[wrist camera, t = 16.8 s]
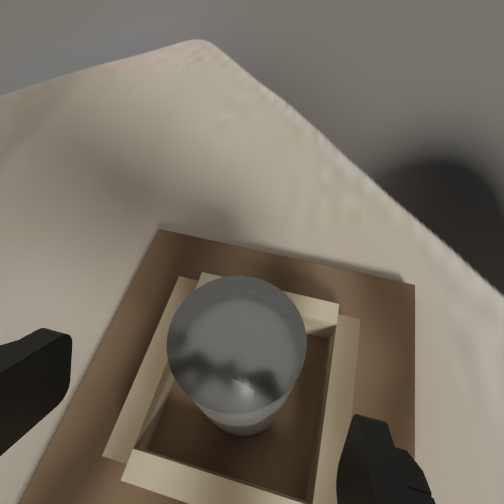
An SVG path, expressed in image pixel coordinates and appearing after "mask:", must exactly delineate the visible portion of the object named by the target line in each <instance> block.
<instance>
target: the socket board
mask: <svg viewBox="0 0 504 504" xmlns="http://www.w3.org/2000/svg"><path fill="white" fill-rule="evenodd" d="M227 276H250V277H255V278H258V279H262V280H264V281H267V282H269V283H271V284H273V285H274V286H276V287H278V288H279V289H280V290H281V291H283V292H284V293H285V294H286V295H287V296H288V297H289V298H290V299H291V300H292V302H293V303H294V304H295V306H296V307H297V309H298V311H299V312H300V315H301V317H302V319H303V322H304V326H305V330H306V337H307V348H306V356H305V360H304V364H303V367H302V369H301V371H300V374H299V376H298V378H297V380H296V382H295V384H294V386H293V388H292V390H291V392H290V394H289V396H288V398H287V400H286V402H285V404H284V406H283V408H282V410H281V412H280V414H279V415H278V417H277V419H276V420H275V421H274V423H273V424H272V425H271V426H270V427H269V428H267V429H266V430H265V431H263V432H261V433H259V434H257V435H254V436H250V437H236V436H232V435H229V434H227V433H225V432H223V431H221V430H220V429H219V428H218V427H216V426H215V425H214V423H213V422H212V421H211V420H210V419H209V418H208V417H207V416H206V415H205V414H204V413H203V412H202V410H201V409H200V408H199V407H198V406H197V405H196V404H195V403H194V402H193V401H192V400H191V399H190V397H189V396H188V395H187V394H186V393H185V392H184V391H183V390H182V389H181V387H180V386H179V385H178V383H177V382H176V380H175V378H174V376H173V374H172V372H171V369H170V366H169V363H168V357H167V346H166V345H167V335H168V330H169V326H170V324H171V321H172V318H173V316H174V314H175V312H176V311H177V309H178V308H179V306H180V305H181V303H182V302H183V301H184V300H185V299H186V298H187V297H188V296H189V295H190V294H191V293H192V292H193V291H195V290H196V289H197V288H199V287H200V286H202V285H204V284H206V283H208V282H210V281H212V280H215V279H218V278H222V277H227ZM354 414H359V415H363V416H366V417H370V418H374V419H377V420H381V421H385V422H386V423H387V424H388V427H389V430H390V433H391V436H392V440H393V443H394V446H395V447H397V448H400V449H404V450H407V451H408V453H409V454H410V455H411V457H412V458H413V459H414V456H415V285H412V284H408V283H403V282H399V281H394V280H389V279H385V278H380V277H376V276H371V275H367V274H362V273H357V272H353V271H348V270H344V269H339V268H335V267H330V266H325V265H321V264H316V263H312V262H307V261H303V260H298V259H293V258H289V257H284V256H280V255H275V254H270V253H266V252H261V251H257V250H252V249H248V248H243V247H238V246H234V245H229V244H225V243H220V242H216V241H211V240H206V239H202V238H197V237H193V236H188V235H184V234H179V233H174V232H170V231H165V230H161V229H159V230H158V232H157V234H156V236H155V238H154V240H153V242H152V244H151V246H150V248H149V250H148V252H147V254H146V256H145V258H144V260H143V262H142V264H141V266H140V268H139V270H138V272H137V274H136V276H135V278H134V279H133V281H132V283H131V285H130V287H129V289H128V291H127V293H126V295H125V297H124V299H123V301H122V303H121V305H120V307H119V309H118V311H117V313H116V315H115V317H114V319H113V321H112V323H111V325H110V327H109V329H108V331H107V332H106V334H105V336H104V338H103V340H102V342H101V344H100V346H99V348H98V350H97V352H96V354H95V356H94V358H93V360H92V362H91V364H90V366H89V368H88V370H87V372H86V374H85V376H84V378H83V380H82V382H81V384H80V386H79V387H78V389H77V391H76V393H75V395H74V397H73V399H72V401H71V403H70V405H69V407H68V409H67V411H66V413H65V415H64V417H63V419H62V421H61V423H60V425H59V427H58V429H57V431H56V433H55V435H54V437H53V439H52V440H51V442H50V444H49V446H48V448H47V450H46V452H45V454H44V456H43V458H42V460H41V462H40V464H39V466H38V468H37V470H36V472H35V474H34V476H33V478H32V480H31V482H30V484H29V486H28V488H27V490H26V492H25V494H24V495H23V497H22V499H21V501H20V503H19V504H337V494H336V478H337V470H338V464H339V460H340V457H341V453H342V450H343V447H344V443H345V440H346V437H347V433H348V430H349V427H350V423H351V420H352V418H353V416H354Z"/></svg>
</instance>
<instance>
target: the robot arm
mask: <svg viewBox="0 0 504 504" xmlns="http://www.w3.org/2000/svg"><path fill="white" fill-rule="evenodd" d="M71 356H72V338H71V336H70V335H68V334H64V333H61V332H57V331H53V330H50V329H46V328H41V329H38V330H36V331H34V332H33V333H31V334H29V335H27V336H25V337H23V338H22V339H20V340H17V341H14V342H10V343H7V344H4V345H0V456H1V455H2V454H3V453H4V452H6V451H7V450H8V449H9V448H10V447H11V446H12V445H13V444H15V443H16V442H17V441H18V440H19V439H20V438H21V437H22V436H24V435H25V434H26V433H27V432H28V431H29V430H30V429H32V428H33V427H34V426H35V425H36V424H37V423H38V422H39V421H41V420H42V419H43V418H44V417H45V416H46V415H47V414H49V413H50V412H51V411H52V410H53V409H54V408H55V407H56V406H57V405H59V403H60V402H61V401H62V400H63V398H64V396H65V395H66V393H67V390H68V388H69V384H70V373H71ZM336 494H337V504H435V501H434V499H433V498H432V497H431V494H432V493H431V491H430V488H429V486H428V483H427V481H426V478H425V475H424V473H423V471H422V469H421V468H420V467H419V466H418V464H417V463H416V462H415V460H414V459H413V458H412V457H411V455H410V454H409V453H408V451H407V450H404V449H400V448H397V447H395V446H394V443H393V440H392V436H391V433H390V430H389V427H388V424H387V423H386V422H385V421H381V420H377V419H374V418H370V417H366V416H363V415H359V414H354V416H353V418H352V420H351V423H350V427H349V430H348V433H347V437H346V440H345V443H344V447H343V450H342V453H341V457H340V460H339V464H338V470H337V478H336Z"/></svg>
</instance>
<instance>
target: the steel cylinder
mask: <svg viewBox="0 0 504 504" xmlns="http://www.w3.org/2000/svg"><path fill="white" fill-rule="evenodd" d="M166 346H167V357H168V363H169V366H170V369H171V372H172V374H173V376H174V378H175V380H176V382H177V383H178V385H179V386H180V387H181V389H182V390H183V391H184V392H185V393H186V394H187V395H188V396H189V397H190V399H191V400H192V401H193V402H194V403H195V404H196V405H197V406H198V407H199V408H200V409H201V410H202V412H203V413H204V414H205V415H206V416H207V417H208V418H209V419H210V420H211V421H212V422H213V423H214V425H215V426H216V427H218V428H219V429H220V430H221V431H223V432H225V433H227V434H229V435H232V436H236V437H250V436H254V435H257V434H259V433H261V432H263V431H265V430H266V429H267V428H269V427H270V426H271V425H272V424H273V423H274V421H275V420H276V419H277V417H278V415H279V414H280V412H281V410H282V408H283V406H284V404H285V402H286V400H287V398H288V396H289V394H290V392H291V390H292V388H293V386H294V384H295V382H296V380H297V378H298V376H299V374H300V371H301V369H302V367H303V364H304V360H305V356H306V348H307V337H306V330H305V326H304V322H303V319H302V317H301V315H300V312H299V311H298V309H297V307H296V306H295V304H294V303H293V302H292V300H291V299H290V298H289V297H288V296H287V295H286V294H285V293H284V292H283V291H281V290H280V289H279V288H278V287H276V286H274V285H273V284H271V283H269V282H267V281H264V280H262V279H258V278H255V277H250V276H227V277H222V278H218V279H215V280H212V281H210V282H208V283H206V284H204V285H202V286H200V287H199V288H197V289H196V290H195V291H193V292H192V293H191V294H190V295H189V296H188V297H187V298H186V299H185V300H184V301H183V302H182V303H181V305H180V306H179V308H178V309H177V311H176V312H175V314H174V316H173V318H172V321H171V324H170V326H169V330H168V335H167V345H166Z"/></svg>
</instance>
